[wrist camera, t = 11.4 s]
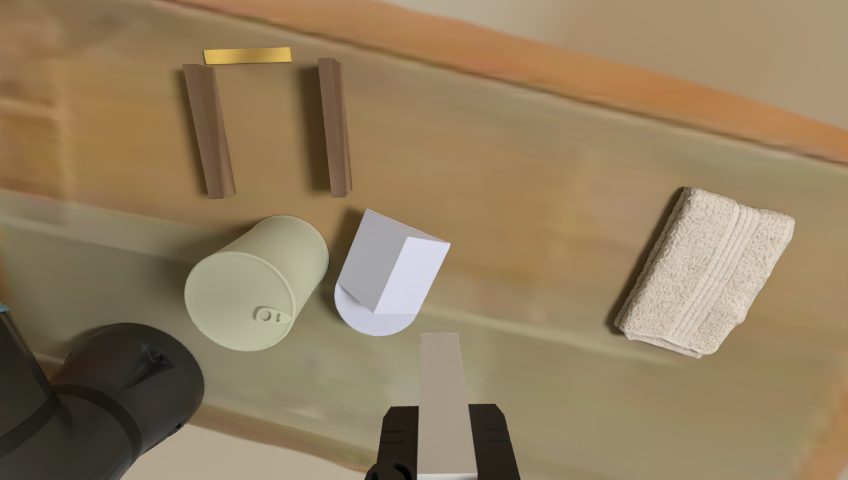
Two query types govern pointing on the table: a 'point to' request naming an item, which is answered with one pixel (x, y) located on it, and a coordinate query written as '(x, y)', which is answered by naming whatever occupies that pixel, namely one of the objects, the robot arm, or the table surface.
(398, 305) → the wedge on round base
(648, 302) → the washcloth
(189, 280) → the can
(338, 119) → the channel
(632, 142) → the table surface
